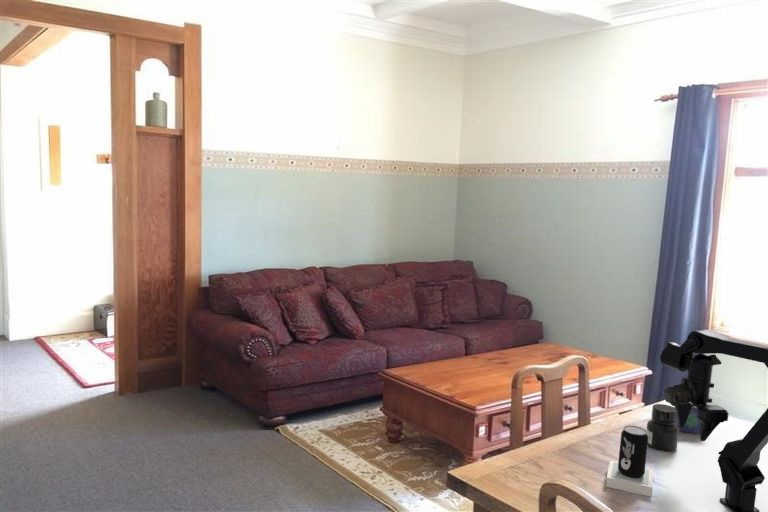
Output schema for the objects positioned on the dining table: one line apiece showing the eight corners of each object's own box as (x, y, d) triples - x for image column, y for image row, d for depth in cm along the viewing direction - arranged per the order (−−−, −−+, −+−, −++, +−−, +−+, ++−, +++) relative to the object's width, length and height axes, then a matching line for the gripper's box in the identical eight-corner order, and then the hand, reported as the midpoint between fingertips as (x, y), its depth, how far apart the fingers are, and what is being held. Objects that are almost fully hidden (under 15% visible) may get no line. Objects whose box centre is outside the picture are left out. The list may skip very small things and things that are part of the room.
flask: (672, 432, 204) (676, 399, 203) (670, 428, 207) (674, 396, 205) (703, 436, 202) (707, 403, 200) (701, 432, 205) (705, 400, 203)
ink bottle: (650, 437, 199) (654, 400, 197) (680, 445, 193) (685, 407, 192) (640, 446, 191) (644, 408, 190) (671, 455, 186) (675, 416, 184)
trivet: (652, 478, 171) (653, 469, 171) (651, 496, 161) (652, 487, 160) (609, 469, 175) (609, 460, 175) (605, 486, 165) (606, 476, 165)
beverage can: (646, 480, 164) (651, 436, 162) (619, 477, 165) (623, 432, 163) (641, 469, 170) (646, 426, 168) (616, 465, 171) (620, 423, 170)
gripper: (650, 365, 175) (644, 419, 177) (691, 389, 157) (684, 449, 159) (688, 366, 177) (682, 419, 179) (733, 389, 159) (725, 448, 161)
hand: (691, 433), depth 169 cm, fingers open, 9 cm apart
